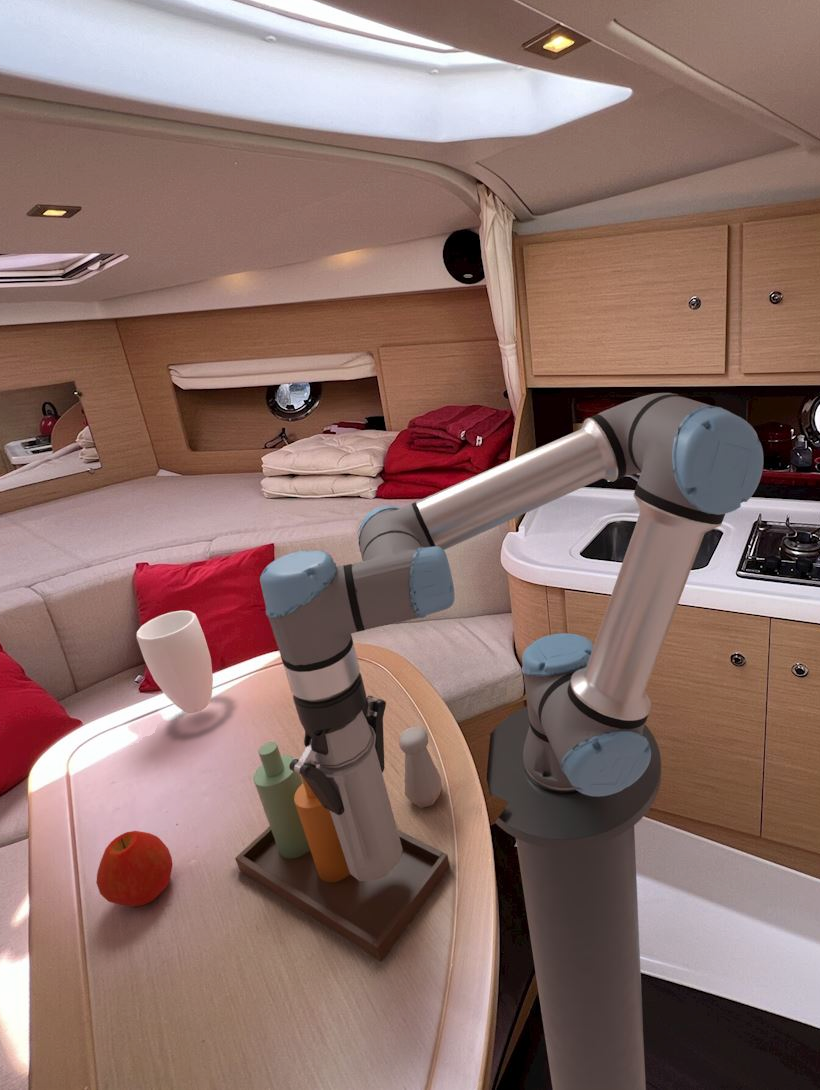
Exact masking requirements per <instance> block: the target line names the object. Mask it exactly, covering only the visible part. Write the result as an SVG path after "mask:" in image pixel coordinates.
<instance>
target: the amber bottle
mask: <svg viewBox="0 0 820 1090" xmlns="http://www.w3.org/2000/svg"><path fill="white" fill-rule="evenodd" d="M301 778H302V782H303V784H301V785H300V787H299V788H298V789H297V791H296V793H295V796H294V802H295V805H296V808H297V811H298V814H299V817H300V820H301V823H302V826H303V829H304V832H305V835H306V838H307V841H308V844H309V847H310V850H311V853H312V856H313V859H314V862H315V865H316V868H317V872H318V875H319V877H320V878H321V879H322V880H323V881H325V882H329V883H332V882H338V881H340V880H343V879H344V878H346V877H348V876H349V875H350V872H349V869H348V866H347V863H346V859H345V856H344V853H343V850H342V847H341V844H340V841H339V838H338V835H337V832H336V829H335V826H334V823H333V820H332V816H331V813H330V810H328V809H326V808H324V807H323V806H322V804H321V803H320V801H319V800H318V798H317V797H316V795H315V794H314V793H313V791H312V790H311V788H310V787H309V785H308V784H307V782H306V781H305V780H304V778H303V777H302V775H301Z"/></svg>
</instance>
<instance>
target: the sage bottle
mask: <svg viewBox="0 0 820 1090" xmlns="http://www.w3.org/2000/svg"><path fill="white" fill-rule="evenodd" d="M257 753H258V755H259V758H260V761H261V765H259V766H258V767H257V769H256V770H255V772H254V773H253V783H254V786H255V788H256V791H257V794H258V796H259V800H260V802H261V805H262V807H263V810H264V813H265V816H266V820H267V823H268V825H269V826H270V828H271V830H272V833H273V836H274V839H275V842H276V844H277V847H278V850H279V853H280V854H281V856H283V857H284V858H288V859H293V858H298V857H300V856H303V855H304V854H306V853H307V852H309V851H310V847H309V844H308V841H307V838H306V835H305V832H304V829H303V826H302V823H301V820H300V817H299V814H298V811H297V808H296V805H295V802H294V796H295V793H296V791H297V789H298V788H299V787H300V785H301V784H303V781H302V778H301V775H300V774H298V773H296V772H294V771H292V770H291V769H290V768H289V766H290V763H291V762H292V761H293V760H294V759H295V757H293V756H292V755H287V754H281V752H280V750H279V747H278V743H276V742H275V741H269V742H266V743H264V744H263V745H261V746H260V747H259V749H258V752H257Z"/></svg>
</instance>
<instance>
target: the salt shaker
mask: <svg viewBox="0 0 820 1090" xmlns="http://www.w3.org/2000/svg"><path fill="white" fill-rule="evenodd" d="M398 739H399V740H398V742H399V745H398V746H399V749H400V750H401V751H402V752H403V753H404V795H405V797H406V798H407V799H408V800H409V802H411V803H412V804H414V805H415V806H416V807H418V808H419V809H423V808H426V807H432V806H433V805H434V804H435V802H436V801H437V800H438V798H439V797H440V795H441V791H442V787H443V782H442V776H441V774H440V772H439V770H438V768H437V767H436V764H435V762H434V760H433V758H432V756H431V754H430V751H429V750H428V745H429V735H428V732H427V730H426V729H425V728H424V727H421V726H416V725H415V726H410V727H408V728H406V729H405V730H404V731H402V732H401V734H400V735H399V737H398Z"/></svg>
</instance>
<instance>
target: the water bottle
mask: <svg viewBox="0 0 820 1090" xmlns="http://www.w3.org/2000/svg"><path fill="white" fill-rule="evenodd" d="M372 734H373V735H372ZM325 735H326V740H327V746H328V754H327V755H323V754H320V753H316V759H317V760H318V763H319V764H320V767H319V768H318V769H320V770H321V771H322V772H323V773H324V774H325V776H326V777H327V779H328V780H329V782H330V783H331V785H332V786H333V788H334V789H335V791H336V792H337V794H338V796H339V797H340V799H341V800H342V802H343V806H344V810H345V811H344V812H343V813H342V814H341V815H337V814H335V813H333V812H332V811H330V813H331V816H332V820H333V823H334V826H335V829H336V832H337V835H338V838H339V841H340V844H341V847H342V850H343V853H344V856H345V859H346V863H347V866H348V869H349V872H350V874H351V875H352V876H354V877H355V878H356V879H358V880H359V881H375V880H377V879H379V878H381V877H384V876H386V875H388V874H389V872H390V871H391V870H392V869H393V868H394V867H395V866H396V865H397V864H398V862H399V859H400V856H401V853H402V850H403V849H402V845H401V841H400V838H399V834H398V828H397V827H398V826H397V823H396V819H395V816H394V812H393V808H392V805H391V802H390V798H389V797H390V796H389V794H388V790H387V786H386V782H385V779H384V775H383V773H382V771H381V767H380V763H379V760H378V756H377V752H376V749H375V740H376V734H375V732H374V730H373V728H372V727H371V726H370V725H369V724H368V722H367V720H366V718H365V716H364V714H363V711H361V712H360V713H359V714H358V715H357V716H356V717H355V718H354V719H352V720H351V721H349V722H348V723H346V724H344V725H342V726H339V727H337V728H333V729H330V730H329V731H328V732H327V733H326V734H325Z"/></svg>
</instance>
